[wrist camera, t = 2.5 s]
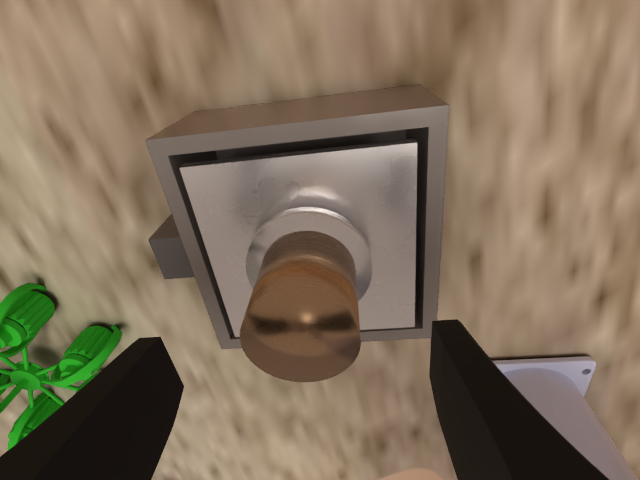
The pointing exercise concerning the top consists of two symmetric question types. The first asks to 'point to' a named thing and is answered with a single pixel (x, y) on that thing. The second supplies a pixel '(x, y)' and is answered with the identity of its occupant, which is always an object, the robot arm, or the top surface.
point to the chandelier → (77, 364)
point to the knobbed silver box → (297, 135)
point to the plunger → (310, 249)
